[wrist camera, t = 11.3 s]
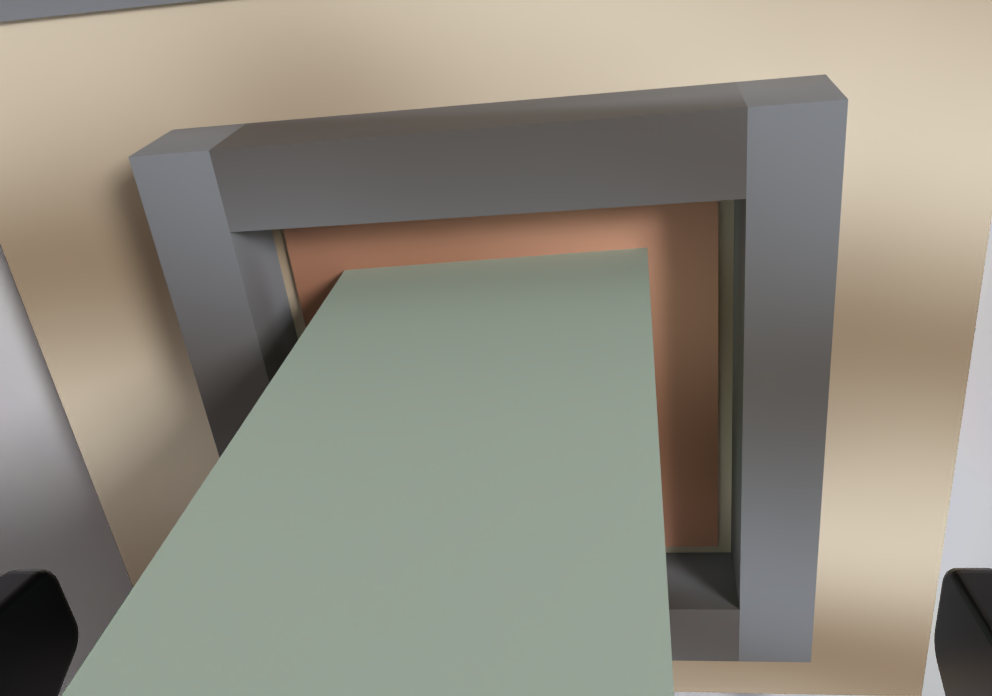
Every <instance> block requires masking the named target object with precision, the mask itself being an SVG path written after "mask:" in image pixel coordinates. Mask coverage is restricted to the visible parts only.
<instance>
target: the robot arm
mask: <svg viewBox="0 0 992 696" xmlns="http://www.w3.org/2000/svg"><path fill="white" fill-rule="evenodd" d="M77 643H78V626H77V623H76V621H75V618H74V616H73V614H72V611H71V609H70V607H69V604H68V602H67V600H66V597H65V595H64V593H63V591H62V588H61V586H60V584H59V581H58V579H57V578H56V576H55V575H53V574H52V573H51V572H50V571H47V570H13V571H10V572H7V573H5V574H4V575H2V576H0V696H58V694H59V692H60V689H61V686H62V684H63V681H64V679H65V676H66V674H67V671H68V669H69V666H70V664H71V661H72V659H73V656H74V654H75V651H76V648H77ZM934 643H935V653H936V659H937V663H938V667H939V671H940V675H941V679H942V683H943V687H944V691H945V695H946V696H992V569H990V568H953V569H951V570H949V571H947V572H946V574H945V576H944V578H943V582H942V588H941V594H940V601H939V608H938V614H937V621H936V628H935V638H934Z"/></svg>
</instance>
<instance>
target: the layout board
mask: <svg viewBox="0 0 992 696" xmlns="http://www.w3.org/2000/svg"><path fill="white" fill-rule="evenodd" d="M991 217H992V0H0V245H1V247H2V250H3V252H4V255H5V258H6V260H7V263H8V265H9V268H10V270H11V273H12V276H13V278H14V281H15V283H16V286H17V289H18V291H19V294H20V296H21V299H22V301H23V304H24V307H25V309H26V312H27V314H28V317H29V320H30V322H31V325H32V327H33V330H34V332H35V335H36V338H37V340H38V343H39V345H40V348H41V351H42V353H43V356H44V358H45V361H46V363H47V366H48V369H49V371H50V374H51V376H52V379H53V382H54V384H55V387H56V389H57V392H58V395H59V397H60V400H61V402H62V405H63V407H64V410H65V413H66V415H67V418H68V420H69V423H70V426H71V428H72V431H73V433H74V436H75V438H76V441H77V444H78V446H79V449H80V451H81V454H82V457H83V459H84V462H85V464H86V467H87V469H88V472H89V475H90V477H91V480H92V482H93V485H94V488H95V490H96V493H97V495H98V498H99V500H100V503H101V506H102V508H103V511H104V513H105V516H106V519H107V521H108V524H109V526H110V529H111V531H112V534H113V537H114V539H115V542H116V544H117V547H118V550H119V552H120V555H121V557H122V560H123V563H124V565H125V568H126V570H127V573H128V575H129V578H130V581H131V583H132V586H133V587H134V586H135V584H136V583H137V581H138V580H139V578H140V577H141V575H142V574H143V572H144V571H145V569H146V568H147V566H148V565H149V563H150V562H151V560H152V559H153V557H154V556H155V554H156V553H157V551H158V550H159V548H160V547H161V545H162V544H163V542H164V541H165V539H166V538H167V536H168V535H169V533H170V532H171V530H172V529H173V527H174V526H175V524H176V523H177V521H178V520H179V518H180V517H181V515H182V514H183V512H184V511H185V509H186V508H187V506H188V505H189V503H190V502H191V500H192V499H193V497H194V496H195V494H196V493H197V491H198V490H199V488H200V487H201V485H202V484H203V482H204V481H205V479H206V478H207V476H208V475H209V473H210V472H211V470H212V469H213V467H214V466H215V464H216V463H217V461H218V460H219V458H220V457H221V455H222V454H223V452H224V451H225V449H226V448H227V446H228V445H229V443H230V442H231V440H232V439H233V437H234V436H235V434H236V433H237V431H238V430H239V428H240V427H241V425H242V424H243V422H244V421H245V419H246V418H247V416H248V415H249V413H250V412H251V410H252V409H253V407H254V406H255V404H256V403H257V401H258V400H259V398H260V397H261V395H262V394H263V392H264V391H265V389H266V388H267V386H268V385H269V383H270V382H271V380H272V379H273V377H274V376H275V374H276V373H277V371H278V370H279V368H280V367H281V365H282V364H283V362H284V361H285V359H286V358H287V356H288V355H289V353H290V352H291V350H292V349H293V347H294V346H295V344H296V343H297V341H298V340H299V338H300V337H301V335H302V334H303V332H304V331H305V329H306V328H307V326H308V325H309V323H310V322H311V320H312V319H313V317H314V316H315V314H316V313H317V311H318V310H319V308H320V307H321V305H322V304H323V302H324V300H325V299H326V297H327V296H328V294H329V293H330V291H331V290H332V288H333V287H334V285H335V284H336V282H337V281H338V279H339V278H340V276H341V275H342V273H343V272H344V270H353V269H367V268H380V267H393V266H407V265H420V264H433V263H447V262H460V261H473V260H486V259H500V258H513V257H526V256H540V255H553V254H566V253H580V252H593V251H606V250H620V249H633V248H646V247H647V250H648V267H649V284H650V300H651V317H652V334H653V350H654V367H655V384H656V400H657V417H658V434H659V450H660V467H661V484H662V500H663V517H664V534H665V550H666V567H667V584H668V600H669V617H670V634H671V650H672V667H673V684H674V692H721V693H774V694H827V695H880V696H921V694H922V687H923V680H924V673H925V667H926V660H927V653H928V646H929V639H930V633H931V626H932V619H933V612H934V605H935V599H936V592H937V585H938V578H939V571H940V564H941V558H942V551H943V544H944V537H945V530H946V524H947V517H948V510H949V503H950V496H951V489H952V483H953V476H954V469H955V462H956V455H957V449H958V442H959V435H960V428H961V421H962V414H963V408H964V401H965V394H966V387H967V380H968V374H969V367H970V360H971V353H972V346H973V339H974V333H975V326H976V319H977V312H978V305H979V299H980V292H981V285H982V278H983V271H984V265H985V258H986V251H987V244H988V237H989V230H990V224H991Z"/></svg>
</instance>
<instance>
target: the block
mask: <svg viewBox="0 0 992 696" xmlns="http://www.w3.org/2000/svg"><path fill="white" fill-rule="evenodd" d="M62 696H674V684H673V667H672V650H671V634H670V617H669V600H668V584H667V567H666V550H665V534H664V517H663V500H662V484H661V467H660V450H659V434H658V417H657V400H656V384H655V367H654V350H653V334H652V317H651V300H650V284H649V267H648V250H647V247H646V248H633V249H620V250H606V251H593V252H580V253H566V254H553V255H540V256H526V257H513V258H500V259H486V260H473V261H460V262H447V263H433V264H420V265H407V266H393V267H380V268H367V269H353V270H344V272H343V273H342V275H341V276H340V278H339V279H338V281H337V282H336V284H335V285H334V287H333V288H332V290H331V291H330V293H329V294H328V296H327V297H326V299H325V300H324V302H323V304H322V305H321V307H320V308H319V310H318V311H317V313H316V314H315V316H314V317H313V319H312V320H311V322H310V323H309V325H308V326H307V328H306V329H305V331H304V332H303V334H302V335H301V337H300V338H299V340H298V341H297V343H296V344H295V346H294V347H293V349H292V350H291V352H290V353H289V355H288V356H287V358H286V359H285V361H284V362H283V364H282V365H281V367H280V368H279V370H278V371H277V373H276V374H275V376H274V377H273V379H272V380H271V382H270V383H269V385H268V386H267V388H266V389H265V391H264V392H263V394H262V395H261V397H260V398H259V400H258V401H257V403H256V404H255V406H254V407H253V409H252V410H251V412H250V413H249V415H248V416H247V418H246V419H245V421H244V422H243V424H242V425H241V427H240V428H239V430H238V431H237V433H236V434H235V436H234V437H233V439H232V440H231V442H230V443H229V445H228V446H227V448H226V449H225V451H224V452H223V454H222V455H221V457H220V458H219V460H218V461H217V463H216V464H215V466H214V467H213V469H212V470H211V472H210V473H209V475H208V476H207V478H206V479H205V481H204V482H203V484H202V485H201V487H200V488H199V490H198V491H197V493H196V494H195V496H194V497H193V499H192V500H191V502H190V503H189V505H188V506H187V508H186V509H185V511H184V512H183V514H182V515H181V517H180V518H179V520H178V521H177V523H176V524H175V526H174V527H173V529H172V530H171V532H170V533H169V535H168V536H167V538H166V539H165V541H164V542H163V544H162V545H161V547H160V548H159V550H158V551H157V553H156V554H155V556H154V557H153V559H152V560H151V562H150V563H149V565H148V566H147V568H146V569H145V571H144V572H143V574H142V575H141V577H140V578H139V580H138V581H137V583H136V584H135V586H134V587H133V589H132V590H131V592H130V593H129V595H128V596H127V598H126V599H125V601H124V602H123V604H122V605H121V607H120V608H119V610H118V611H117V613H116V614H115V616H114V617H113V619H112V620H111V622H110V623H109V625H108V626H107V628H106V629H105V631H104V632H103V634H102V635H101V637H100V639H99V640H98V642H97V643H96V645H95V646H94V648H93V649H92V651H91V652H90V654H89V655H88V657H87V658H86V660H85V661H84V663H83V664H82V666H81V667H80V669H79V670H78V672H77V673H76V675H75V676H74V678H73V679H72V681H71V682H70V684H69V685H68V687H67V688H66V690H65V691H64V693H63V694H62Z"/></svg>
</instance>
